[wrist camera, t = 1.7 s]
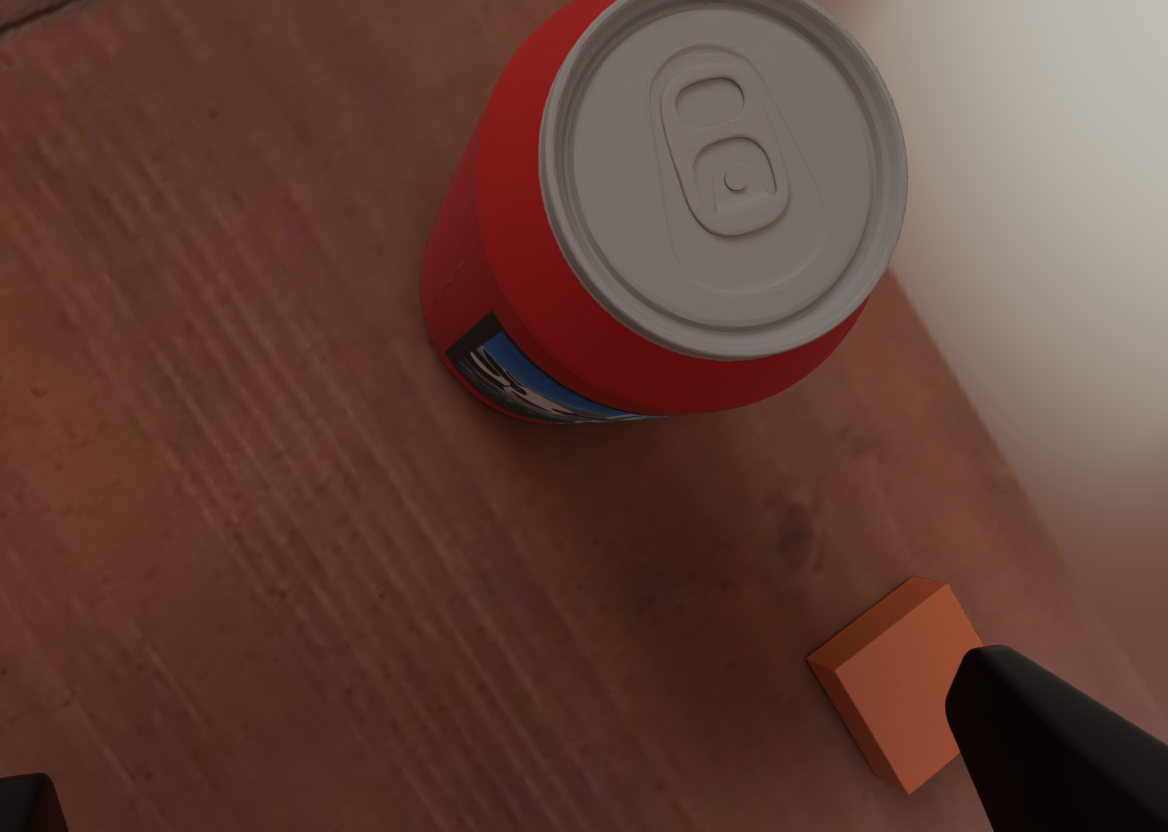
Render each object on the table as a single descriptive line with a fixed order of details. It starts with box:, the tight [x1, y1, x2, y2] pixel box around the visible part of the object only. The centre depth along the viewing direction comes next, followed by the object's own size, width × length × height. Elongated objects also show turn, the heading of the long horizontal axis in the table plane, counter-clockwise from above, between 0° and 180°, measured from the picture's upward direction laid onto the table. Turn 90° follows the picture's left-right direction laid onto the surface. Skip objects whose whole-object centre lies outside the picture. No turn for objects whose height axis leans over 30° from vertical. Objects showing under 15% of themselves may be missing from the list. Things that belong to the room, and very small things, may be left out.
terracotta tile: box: [806, 576, 984, 795], centre depth 26 cm, size 4×4×2 cm
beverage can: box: [420, 0, 908, 425], centre depth 19 cm, size 7×7×12 cm
